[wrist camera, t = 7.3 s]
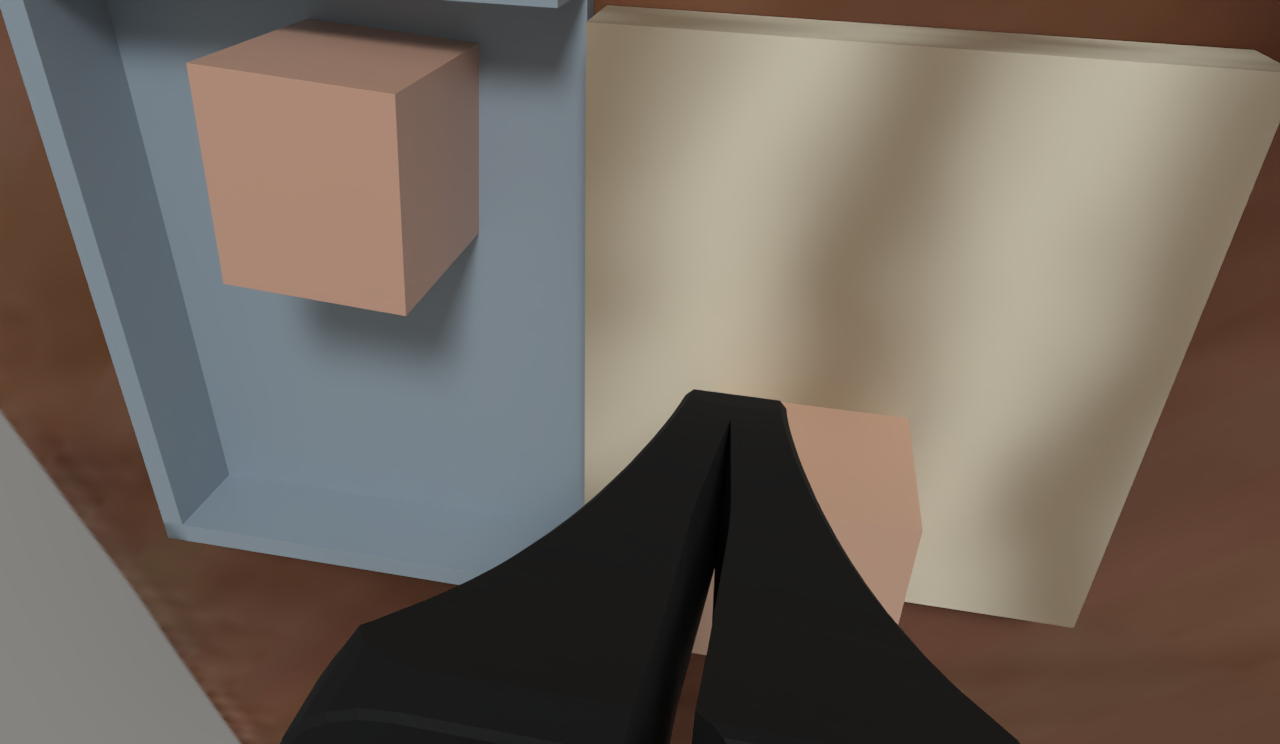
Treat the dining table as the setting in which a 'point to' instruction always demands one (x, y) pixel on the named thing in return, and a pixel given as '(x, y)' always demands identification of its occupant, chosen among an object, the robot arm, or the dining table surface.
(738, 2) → the dining table surface
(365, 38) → the wooden cube
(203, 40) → the tray
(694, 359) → the board
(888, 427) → the wooden cube
